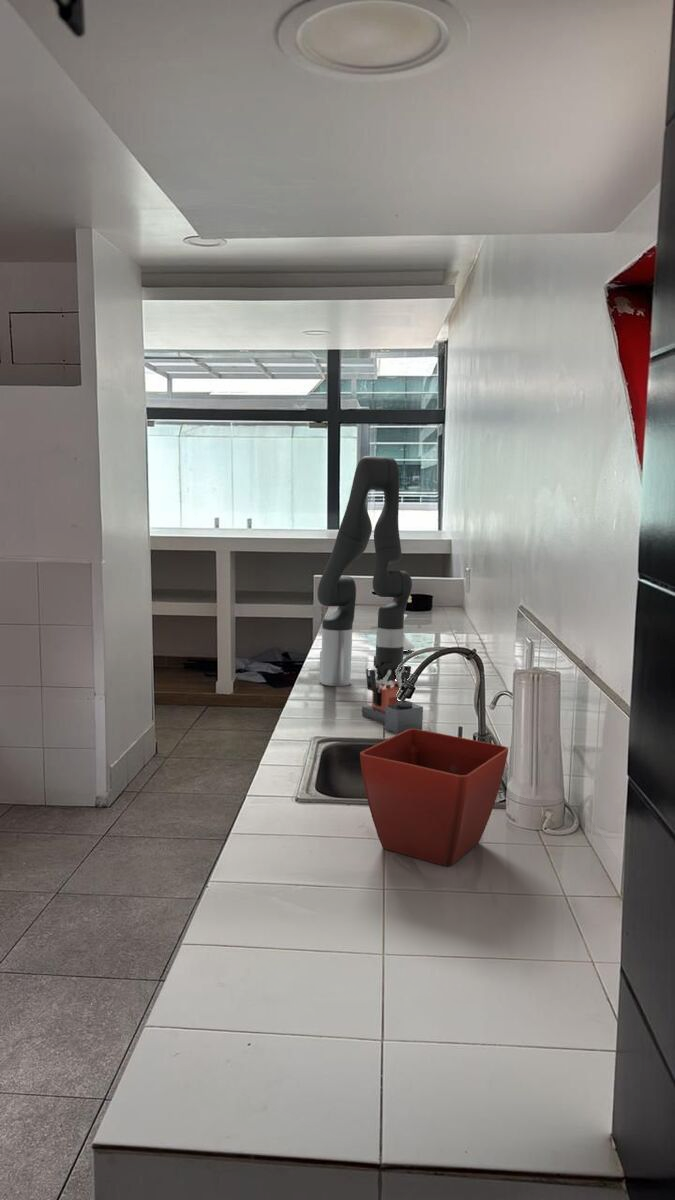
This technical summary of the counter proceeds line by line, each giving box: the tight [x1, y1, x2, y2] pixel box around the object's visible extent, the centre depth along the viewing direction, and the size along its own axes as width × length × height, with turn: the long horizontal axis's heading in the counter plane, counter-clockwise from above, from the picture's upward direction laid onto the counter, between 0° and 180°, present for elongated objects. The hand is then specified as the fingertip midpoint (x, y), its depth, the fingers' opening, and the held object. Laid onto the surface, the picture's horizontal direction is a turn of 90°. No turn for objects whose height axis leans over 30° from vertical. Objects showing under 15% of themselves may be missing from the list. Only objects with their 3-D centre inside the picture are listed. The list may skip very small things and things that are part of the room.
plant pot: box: [359, 729, 509, 867], centre depth 146 cm, size 19×19×17 cm
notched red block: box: [371, 684, 399, 711], centre depth 239 cm, size 6×6×7 cm
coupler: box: [361, 700, 424, 735], centre depth 224 cm, size 19×8×7 cm, turn 34°
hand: (387, 704), depth 239 cm, fingers closed on notched red block, 6 cm apart
